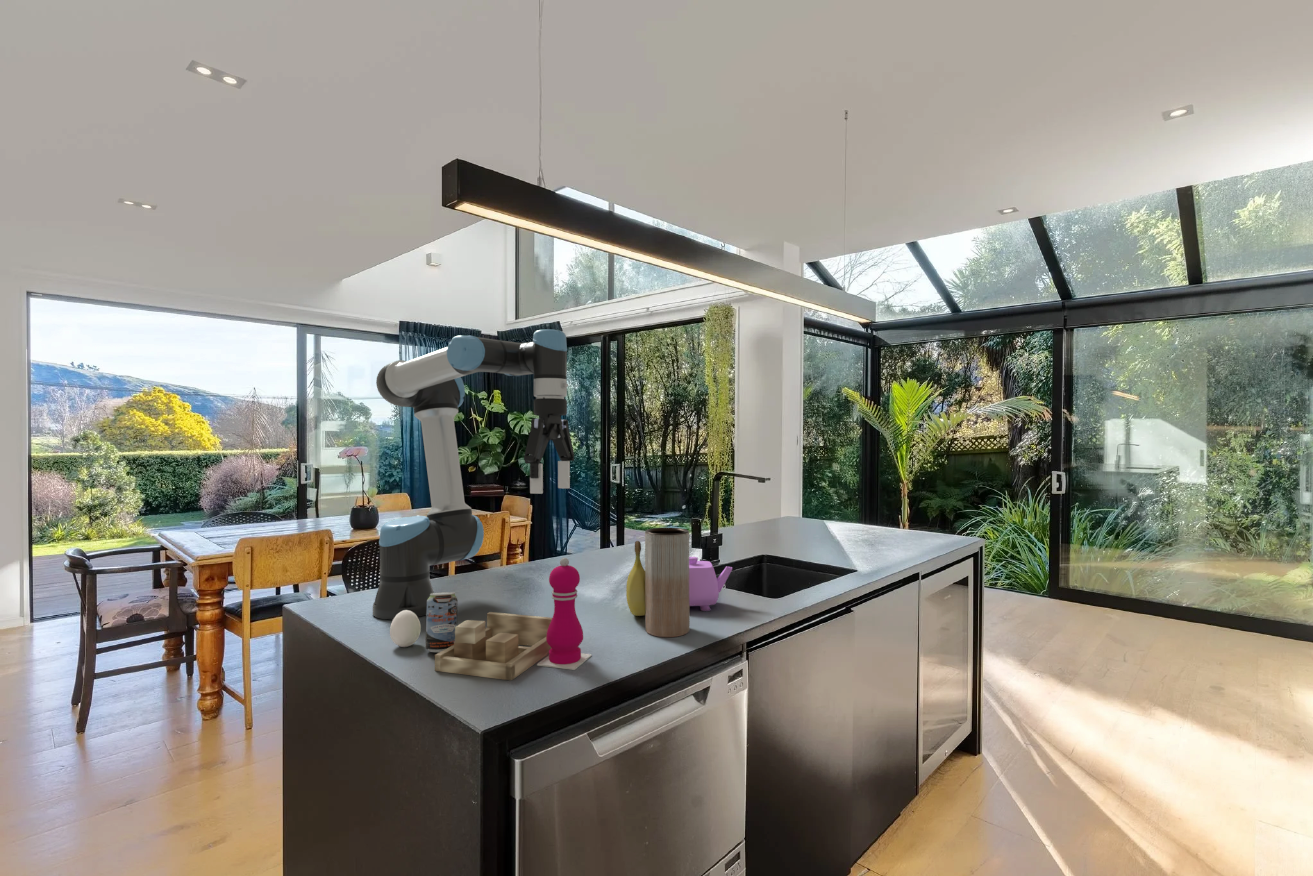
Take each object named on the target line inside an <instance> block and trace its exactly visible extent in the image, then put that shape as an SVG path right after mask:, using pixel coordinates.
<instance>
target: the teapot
mask: <svg viewBox="0 0 1313 876" xmlns="http://www.w3.org/2000/svg"><path fill="white" fill-rule="evenodd" d="M732 571H733V567H732V566H725V567H724V569H723V570H722V572H721V573H720V574H719V575H718V577H717V575H716V572H715V568H714V566H713V564H712V562H711V561H708V560H699V558H698V557H697V556H689V603H690V607H699V608H700V611H703V612H705V611H706V612H708V611H709V612H710V611H711V607H710V606H714V605H716V604H717V602H718V600H719V593H721V591H722V589H723V588H724V586H725V584H726V582H727V580H728V579H729V577H730V575H731V572H732Z"/></svg>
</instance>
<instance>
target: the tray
mask: <svg viewBox="0 0 1313 876" xmlns="http://www.w3.org/2000/svg"><path fill="white" fill-rule="evenodd" d="M552 618H553V617H548V616H538V615H536V616H535V615H526V614H525V615H524V614H515V613H507V612H506V613H504V612H492V611H489V612H487V613H486V627H485V636H487V640H488V639H490V638H492V637H493V636H495V635H497V634H499V633H508V634H518V656H516V657H514V658H513V659H511V660H510V661H508V662H507V663H498V662H490V661H482V660H473V659H465V658H456V657H454V645H453V646H451V647H449V648H447V649H445V650H443V651H441V652H436V654H434V671H435V672H443V673H450V674H457V675H466V676H474V677H482V678H488V679H489V678H490V679H496V680H504V681H513V680H515V678H517V677H518V676H520V675H521V674H523V673H524V672H525V671H527V670H528V669H530V668H531V667H533V666H534V665H536V664H537V663H539V662H540V661H542V660H543V659H544V658H546V657H547V656H549V650H550V649H551V647H550V646H549V645H548V643H547V640H546V636H547V630H548V627H549V625H550V623H551V620H552Z"/></svg>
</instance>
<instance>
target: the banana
mask: <svg viewBox="0 0 1313 876" xmlns="http://www.w3.org/2000/svg"><path fill="white" fill-rule="evenodd" d="M641 551H642V544H641V541H639V540H636V541H635V542H634V553H635V559H634V564H633V566H632V568H631V570H630V571H629V574H628V576H627V580H626V592H625V595H626V603H627V606H628V608H629V611H630V613H631V615H632V616H635V617H636V616H637V617H638V616H639V617H640V616H643V617H645V568H644V567H643V565H642V562H641Z"/></svg>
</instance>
